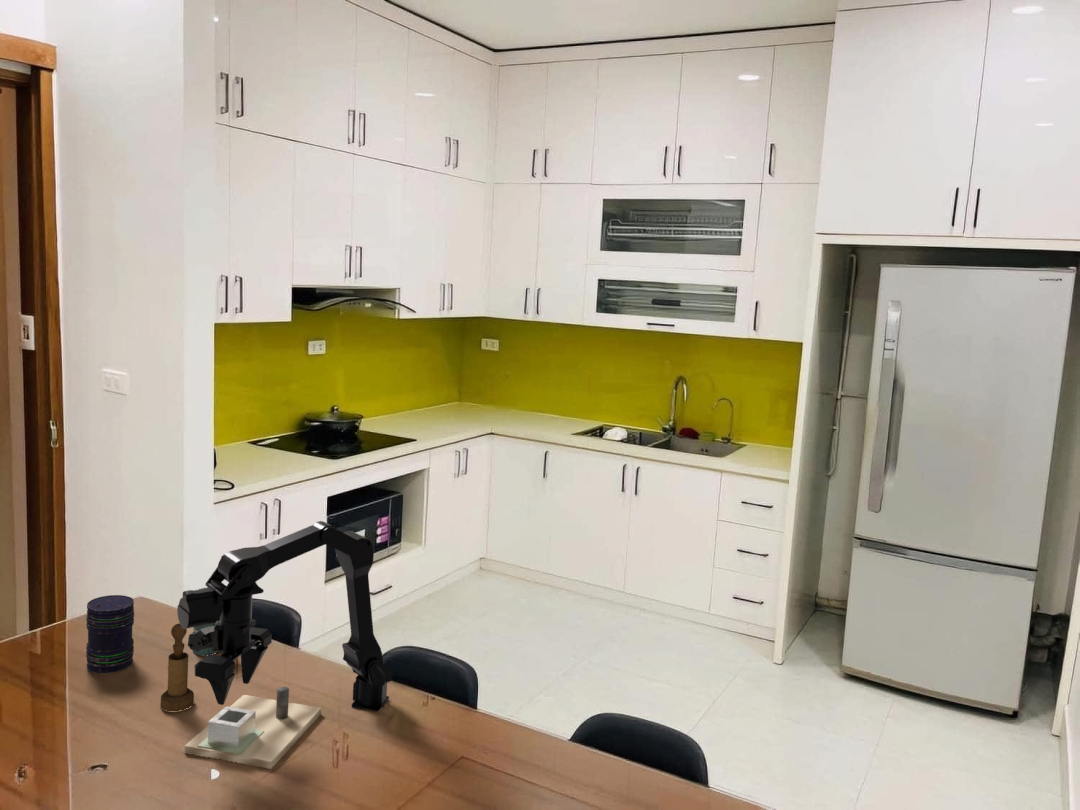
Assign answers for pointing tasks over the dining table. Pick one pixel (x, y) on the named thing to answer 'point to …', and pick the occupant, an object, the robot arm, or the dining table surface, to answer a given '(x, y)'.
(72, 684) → the dining table surface
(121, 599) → the storage jar
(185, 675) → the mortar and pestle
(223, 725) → the collar
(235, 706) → the board
